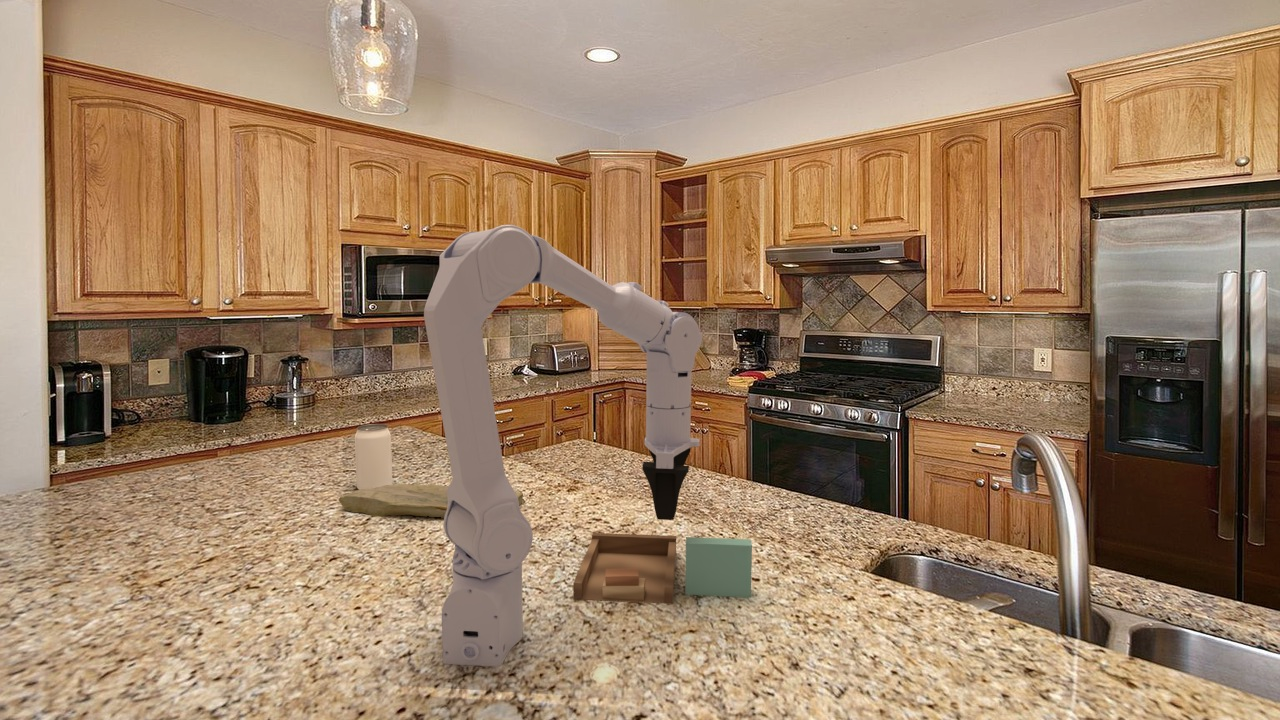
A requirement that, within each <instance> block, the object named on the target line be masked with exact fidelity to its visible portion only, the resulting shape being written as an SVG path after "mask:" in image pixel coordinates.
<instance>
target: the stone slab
mask: <svg viewBox="0 0 1280 720" xmlns="http://www.w3.org/2000/svg"><path fill="white" fill-rule="evenodd" d="M448 486H449V485H439V484H411V483H408V484H407V483H396V484H392V485H386V486H382V487H376V488H372V489H360V490H359V489H358V490H356V491H353V492H352V493H351V492H350V493H346V494H344V495H341V496H339V498H338V502H339V503H340V505H341V506H342V508H344V509H345V511H347V512H351V513H363V514H366V515H368V516H373V517H388V516H387V515H391V516H405V515H412V516H414V517H417V516H418V517H419V516H420V517H427V516H429V517H430V518H434V517H441V518H440V519H444V517H445V514H446V510H447V506H448V498H447V492H446V490H447V488H448ZM515 493H516V495H517V497H518V501H519V505H520V506H521V504H523V498H524V494H523V493H522V492H517V491H515Z"/></svg>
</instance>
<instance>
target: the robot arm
mask: <svg viewBox="0 0 1280 720" xmlns="http://www.w3.org/2000/svg"><path fill="white" fill-rule="evenodd" d="M529 284H541V285H543V286H545V287H548V288H549V289H552V290H554V291H556V292H558V293H560V294H563V295H565V296H567V297H569V298H572V299H573V300H575V301H578V302H579V303H581V304H584V305H585V306H587V307H590V308H592V309H594V310H596V312H597V315H598V316H597V317H598V320H599V322H600V323H601V324H602V326H604V327H605V328H608V329H610V330H612V331H613V332H615V333H618V335H621V336H624V337H625V338H627V339H629V340H630V341H632V342H635V343H636V344H638V346H639V349H640V351H642V353H644V354H646V384H645V385H646V391H645V392H646V394H645V395H646V398H645V399H646V402H645V403H646V407H645V409H646V411H645V413H646V414H645V437H644V443H643V445H644V446H645V447H646V448H647V449H648V451H649V453H650V456H651V458H652V460H653V461H643V463H642V471H643V474H644V476H645V478H646V480H647V482H648V484H649V488H650V490H651V491H650V492H651V495H652V499H653V500H652V501H653V502H652V503H653V507H654V508H653V509H654V512H655V515H656V516H655V517H656V519H657V520H660V521H661V520H662V521H663V520H664V521H665V520H666V521H667V520H668V521H673V520H674V519H675V517H676V512H677V507H678V504H679V503H678V501H679V496H680V491H681V488H682V485H683V483H684V480H685V478H686V477H687V475H688V473H689V469H690V466H689V465H686V461H687V459H688V457H689V455H690V453H691V448H692V447H693V448H694V447H695V448H697V447H700V439H699V438H697V437H696V438H693V437H691V427H692V425H691V423H692V422H691V419H692V418H691V415H692V414H691V413H692V408H691V407H692V371H693V369H694V367H695V366H696V365H695V363H696V362H695V361H696V360H695V359H696V356H697V354H698V351H699V350H700V347H701V345H702V341H703V335H704V334H703V333H701V332H700V331H701V330H700V328H699V327H700V326H699V325H698V323H697V321H696V320H695V319H694V317H693V316H692V315H690V314H689V313H687V312H684V311H683V312H682V311H672V309H671V308H670V307H669V305H670V304H669V303H668V302H666V301H665V300H656V299H655V298H653V297H651V296H650V295H647V294H646V293H645V292H643V291H642V288H643V287H642V284H639V283H638V282H635V281H631V282H630V281H627V282H625V281H622V282H621V281H620V282H617V283H614V284H612V285H611V284H609V282H607V281H605V280H604V279H602V278H601V277H599V276H598V275H596V274H594V273H593V272H592V271H590V270H589V269H587V268H585V267H584V266H583V265H581V264H579V263H578V262H576V261H575V260H573V259H571V258H570V257H569V256H567V255H565V254H564V253H562V252H561V251H559V250H558V249H556V248H555V247H553V246H552V245H551V244H550V243H549V242H548V241H547V240H546V239H545V238H542V237H540V236H537V235H535V234H533V235H531V234H530V233H529V232H528V231H527V230H526V229H524V228H522V227H520V226H517V225H514V224H503V225H499V226H496V227H493V228H491V229H486V230H480V231H469V232H468V231H467V232H465V233H462V234H460V235H459V236H458V237H456V238H455V239H454V240H453V241H452V242H451V244H449V245H448V246H447V247H446V249H445V250H444V251H443V252H442V253H441V254H440V255H439V267H438V271H437V273H436V276H435V279H434V281H433V284H432V287H431V289H430V292H429V294H428V297H427V300H426V303H425V306H424V309H423V319H424V325H425V330H426V331H425V332H426V335H427V341H428V346H429V347H428V348H429V352H430V358H431V362H432V363H431V364H432V370H433V375H434V380H435V386H436V391H437V398H438V403H439V408H440V414H441V418H442V419H441V421H442V424H443V430H444V436H445V442H446V447H447V448H446V449H447V453H448V460H449V463H450V464H449V465H450V470H451V476H452V481H451V482H450V483H449V485H447V486H448V488H447V490H446V492H447V498H448V506H447V510H446V514H445V517H444V518H443V530H444V533H445V536H446V537H447V539H448V540H449V541H450V542H451V543H452V544H454V551H453V552H454V553H453V555H452V585H451V588H450V592H449V593H448V595H447V597H446V598H445V600H444V602H443V605H442V608H441V638H442V640H441V641H442V643H441V644H442V664H444V665H445V664H446V665H461V666H477V667H478V666H479V667H480V666H482V667H495V668H496V667H499V668H500V667H502V665H503V663H504V661H505V659H506V657H507V655H508V654H509V652H510V651H511V649H513V647H514V646H516V645H517V644H518V643H519V642H520V641H521V640H522V638H523V634H524V621H523V620H524V615H523V613H524V611H523V610H524V609H523V605H524V604H523V603H524V602H523V562H524V561H525V559H526V558H527V556H528V555H529V553H530V551H531V548H532V544H533V537H534V536H533V529H532V526H531V524H530V522H529V520H528V519H527V518H526V517H525V516H524V514H523V513H522V510H521V507H520V506H521V505H520V506H519V501H518V497H517V495H516V493H515V492H516V491H515V490H514V488H513V486H512V485H511V483H510V480H509V479H508V477H507V475H506V473H505V466H504V460H503V455H502V448H501V442H500V435H499V429H498V424H497V418H496V412H495V405H494V399H493V393H492V386H491V379H490V373H489V367H488V362H487V356H486V354H487V353H486V349H485V342H484V337H483V331H482V326H483V325H484V323H485V321H486V320H487V319H488V318H489V317H490V315H491V314H492V313H493V312H494V311H495V309H497V307H498V306H499V305H500V303H501V302H503V301H504V300H506V299H508V298H509V297H511V296H513V295H514V294H516V293H518V292H519V291H521V290H523V289H524V288H526V287H527V286H528V285H529Z"/></svg>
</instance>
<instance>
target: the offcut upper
mask: <svg viewBox="0 0 1280 720" xmlns="http://www.w3.org/2000/svg"><path fill="white" fill-rule="evenodd" d="M637 585H639V574H638V568H622V569H606V586H637Z"/></svg>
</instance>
